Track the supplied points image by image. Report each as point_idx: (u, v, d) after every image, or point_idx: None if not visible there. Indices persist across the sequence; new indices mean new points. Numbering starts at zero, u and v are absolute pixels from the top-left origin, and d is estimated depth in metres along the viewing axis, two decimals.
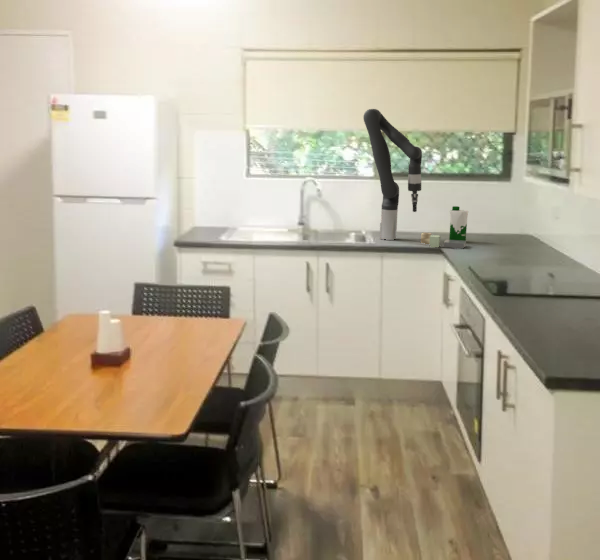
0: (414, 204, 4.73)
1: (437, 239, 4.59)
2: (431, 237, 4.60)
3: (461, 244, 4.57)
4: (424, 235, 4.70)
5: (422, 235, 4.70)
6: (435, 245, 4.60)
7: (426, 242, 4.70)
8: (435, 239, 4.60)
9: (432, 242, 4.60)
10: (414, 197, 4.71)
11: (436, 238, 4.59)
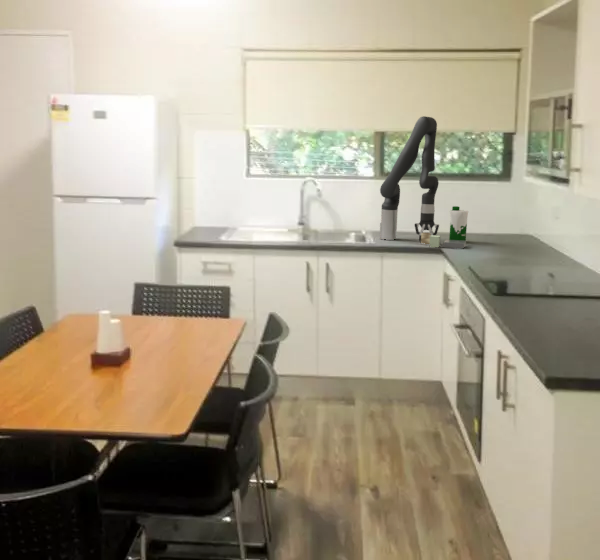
0: None
1: (437, 239, 4.59)
2: (431, 237, 4.60)
3: (461, 244, 4.57)
4: (424, 235, 4.70)
5: (422, 235, 4.70)
6: (435, 245, 4.60)
7: (426, 242, 4.70)
8: (435, 239, 4.60)
9: (432, 242, 4.60)
10: None
11: (436, 238, 4.59)
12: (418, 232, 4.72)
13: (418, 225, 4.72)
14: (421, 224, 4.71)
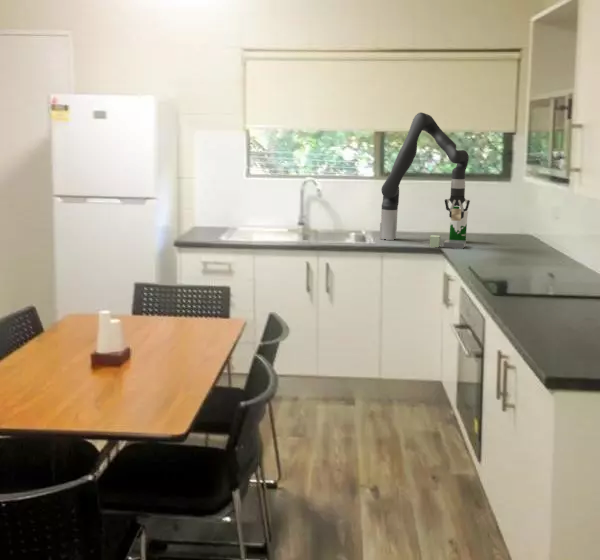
0: (465, 210, 4.59)
1: (437, 239, 4.59)
2: (431, 237, 4.60)
3: (461, 244, 4.57)
4: (455, 211, 4.58)
5: (453, 211, 4.58)
6: (435, 245, 4.60)
7: (457, 218, 4.58)
8: (435, 239, 4.60)
9: (432, 242, 4.60)
10: None
11: (436, 238, 4.59)
12: (448, 208, 4.60)
13: (448, 201, 4.60)
14: (451, 200, 4.59)
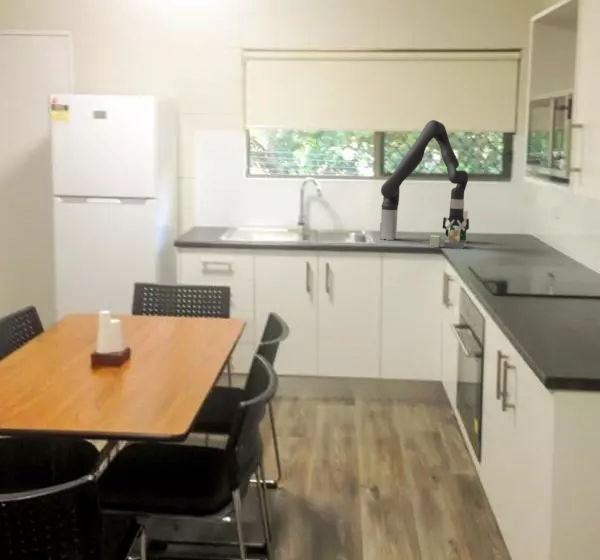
0: (467, 229, 4.60)
1: (437, 239, 4.59)
2: (431, 237, 4.60)
3: (461, 244, 4.57)
4: (453, 232, 4.60)
5: (451, 232, 4.61)
6: (435, 245, 4.60)
7: (455, 240, 4.61)
8: (435, 239, 4.60)
9: (432, 242, 4.60)
10: None
11: (436, 238, 4.59)
12: (444, 226, 4.63)
13: None
14: (450, 220, 4.61)
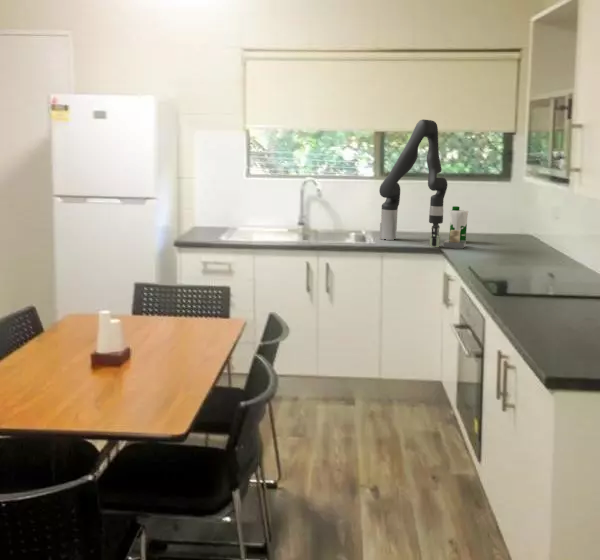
0: None
1: (437, 239, 4.59)
2: None
3: (461, 244, 4.57)
4: (453, 232, 4.60)
5: (451, 232, 4.61)
6: None
7: (455, 240, 4.61)
8: None
9: None
10: None
11: None
12: None
13: None
14: (436, 227, 4.58)
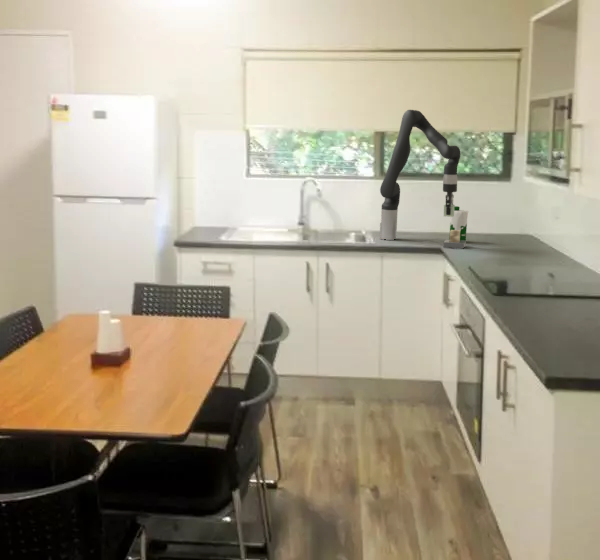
0: None
1: (452, 208, 4.56)
2: (445, 206, 4.57)
3: (461, 244, 4.57)
4: (453, 232, 4.60)
5: (451, 232, 4.61)
6: None
7: (455, 240, 4.61)
8: None
9: None
10: None
11: None
12: None
13: None
14: (450, 196, 4.54)
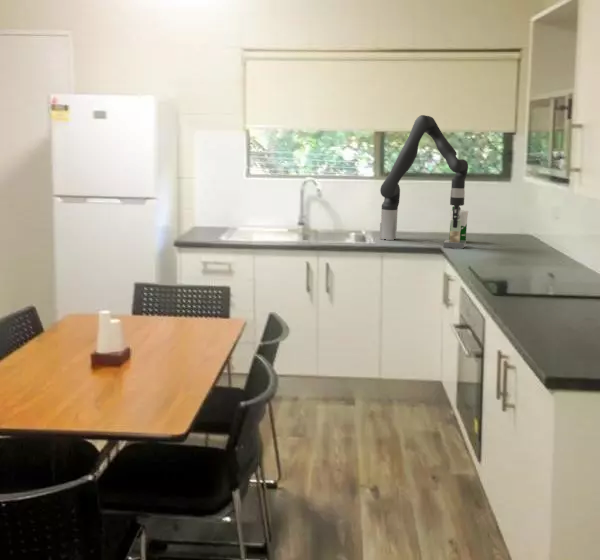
0: None
1: (459, 222, 4.58)
2: (452, 221, 4.59)
3: (461, 244, 4.57)
4: (453, 232, 4.60)
5: (451, 232, 4.61)
6: (456, 229, 4.59)
7: (455, 240, 4.61)
8: None
9: None
10: None
11: None
12: (456, 218, 4.56)
13: None
14: (458, 209, 4.57)
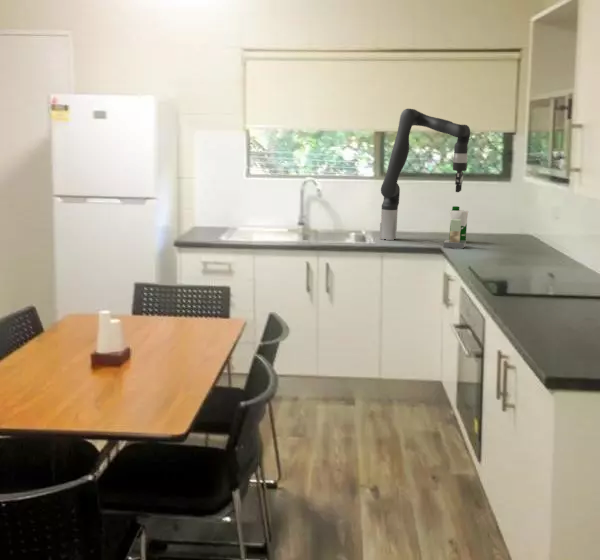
0: None
1: (459, 222, 4.58)
2: (452, 221, 4.59)
3: (461, 244, 4.57)
4: (453, 232, 4.60)
5: (451, 232, 4.61)
6: (456, 229, 4.59)
7: (455, 240, 4.61)
8: (456, 223, 4.59)
9: (453, 226, 4.60)
10: None
11: (457, 221, 4.58)
12: None
13: None
14: (460, 175, 4.57)
